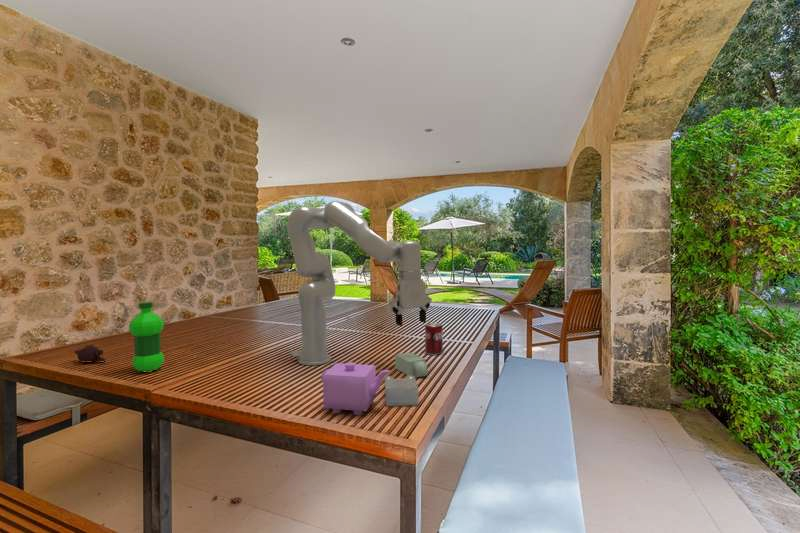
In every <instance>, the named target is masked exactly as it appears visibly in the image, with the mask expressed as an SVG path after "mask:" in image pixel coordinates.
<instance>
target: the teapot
mask: <svg viewBox="0 0 800 533" xmlns="http://www.w3.org/2000/svg"><path fill="white" fill-rule="evenodd" d="M390 372H391V370H390V369H388V370H387V369H385V370H384V369H383V370H381V371H379V373H378V374H377V376H376V364H358V363H356V362H354V361H353V362H351V361H350V362H346V363H337V362H336V363H335V364H333V365H332V367H330V368H327V369H325V370H324V371H323V372H322V373H321V376H320V378H321V382H322V388H323V389H322V390H323V393H322V394H323V395H322V396H323V409H328V410H329V409H332V411H331V413H333V414H340V413H341V412H342V411H343V410H344V411H352V413H353V414H352V415H354V416H360V415H362V414H363V412H367V411H368V409H369V408H370V407H371V404H373V401H374V400H375V398H376V397H377V392H379V390H380V388H381V385H382V382H383V378H384V377H385V376H386V375H387V374H389V373H390Z"/></svg>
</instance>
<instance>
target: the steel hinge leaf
mask: <svg viewBox="0 0 800 533" xmlns="http://www.w3.org/2000/svg"><path fill="white" fill-rule="evenodd" d="M384 393H385V406H386V407H402V406H403V407H405V406H406V407H409V406H419V387H418V383H417V380H416V376H415V375H406V377H405V378H404V377H403V378H393V375H384Z"/></svg>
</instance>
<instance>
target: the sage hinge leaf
mask: <svg viewBox="0 0 800 533" xmlns="http://www.w3.org/2000/svg"><path fill="white" fill-rule="evenodd" d="M394 358H395V361H394V364H395V366H394V368H395V370H398V371H400V372H401V373H403V374H405V375H406V376H407V375H414V376H415V378H416V377H417V378H421V377H425V376H426V377H427V375H428V365H427V363H426V358H424V357H422V356H419V355H418V354H415V353H412V352H411V351H410V352H406V353H405V352H404V353H398V354H395V355H394Z"/></svg>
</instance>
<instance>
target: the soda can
mask: <svg viewBox="0 0 800 533" xmlns="http://www.w3.org/2000/svg"><path fill="white" fill-rule="evenodd" d="M443 328H444V327H443V324H442V323H439V322H429V323H426V324H425V325H424V353H425V354H427V355H428V354H430V355H429V356H439V355H438V354H440V355H441V353H442V354H443V352H444V351H443V349H444V348H443V347H444V345H443V344H444V343H443V341H444V340H443V339H444V338H443V334H444V333H443V332H444V331H443Z"/></svg>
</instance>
